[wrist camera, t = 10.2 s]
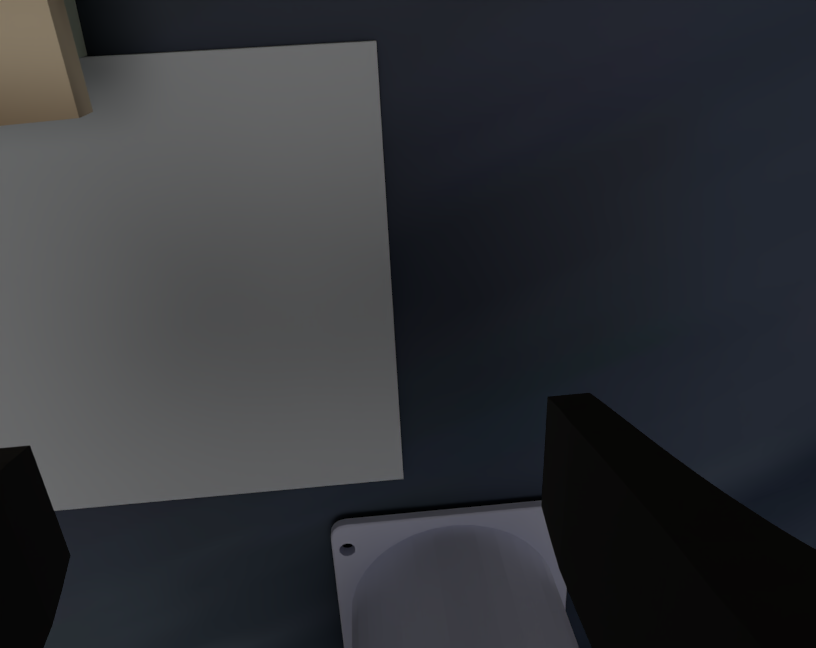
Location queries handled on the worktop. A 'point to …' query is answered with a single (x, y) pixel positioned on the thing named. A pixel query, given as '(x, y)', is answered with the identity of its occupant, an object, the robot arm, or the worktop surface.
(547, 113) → the worktop surface
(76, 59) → the lid
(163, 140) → the mat
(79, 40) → the tray
